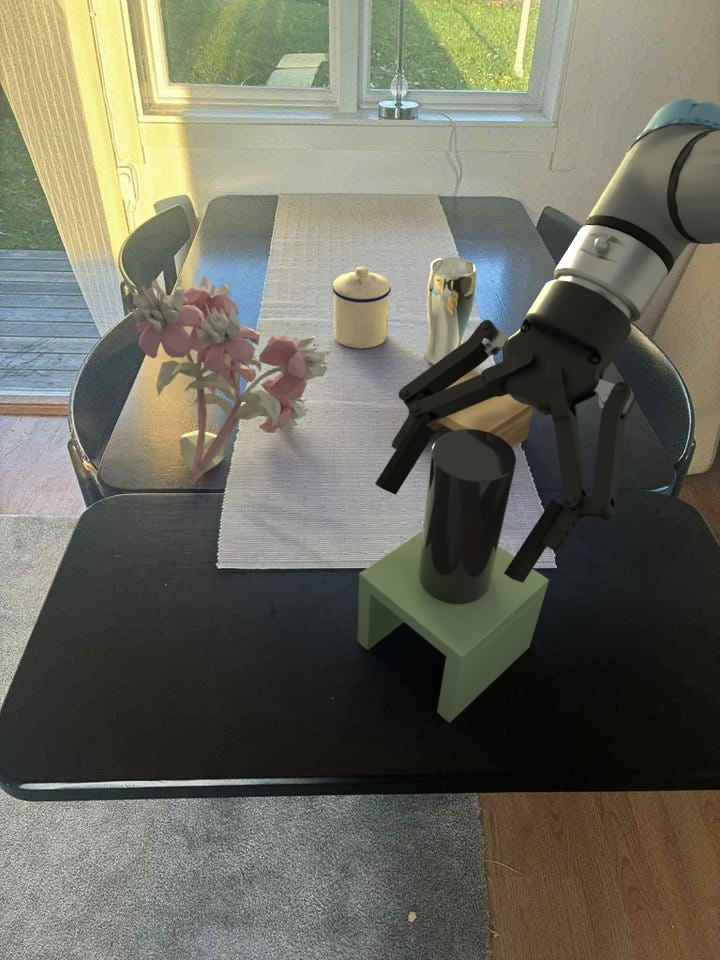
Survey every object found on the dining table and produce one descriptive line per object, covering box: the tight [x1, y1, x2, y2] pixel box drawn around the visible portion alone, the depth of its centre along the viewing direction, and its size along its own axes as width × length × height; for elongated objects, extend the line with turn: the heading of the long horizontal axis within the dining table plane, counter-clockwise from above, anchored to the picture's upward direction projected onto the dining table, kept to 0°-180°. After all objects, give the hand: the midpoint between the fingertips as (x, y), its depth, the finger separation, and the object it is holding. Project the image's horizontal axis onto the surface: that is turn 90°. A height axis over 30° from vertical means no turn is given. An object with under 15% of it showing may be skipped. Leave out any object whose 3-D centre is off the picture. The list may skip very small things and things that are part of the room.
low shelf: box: [429, 369, 535, 449], centre depth 92 cm, size 11×11×6 cm
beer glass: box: [424, 256, 478, 366], centre depth 105 cm, size 7×7×15 cm
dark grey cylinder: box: [418, 429, 517, 604], centre depth 58 cm, size 6×6×14 cm
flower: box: [131, 275, 332, 487], centre depth 86 cm, size 20×22×25 cm
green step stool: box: [357, 528, 550, 724], centre depth 66 cm, size 12×12×10 cm
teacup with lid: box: [332, 265, 392, 350], centre depth 112 cm, size 12×9×12 cm
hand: (444, 531), depth 56 cm, fingers open, 13 cm apart
